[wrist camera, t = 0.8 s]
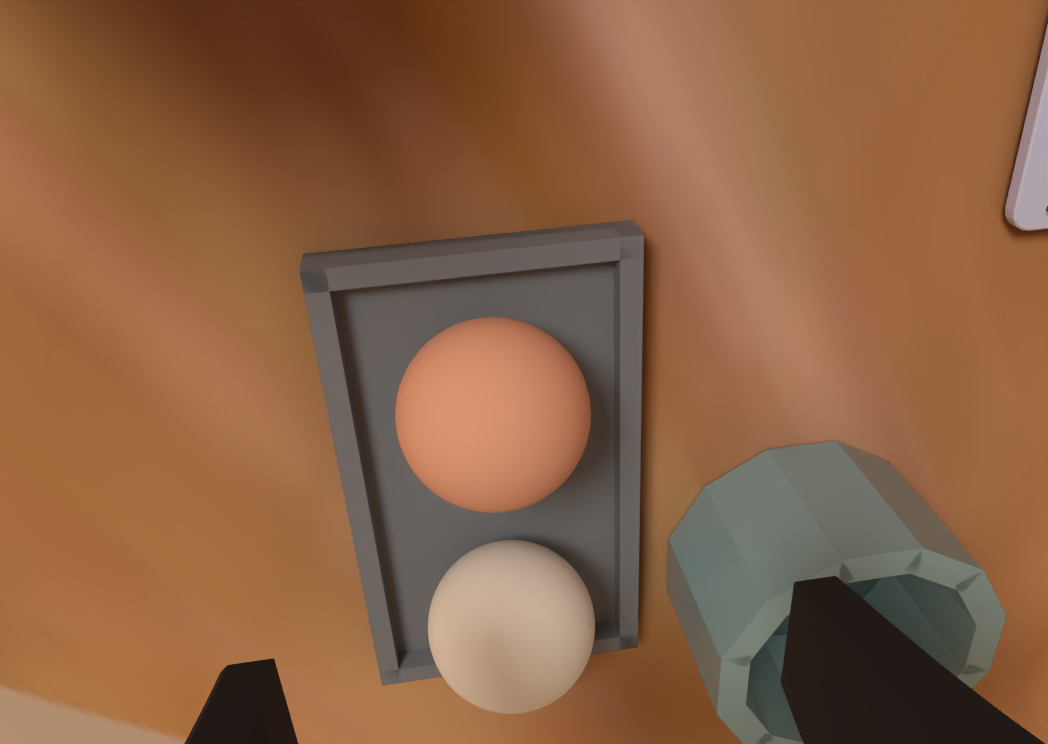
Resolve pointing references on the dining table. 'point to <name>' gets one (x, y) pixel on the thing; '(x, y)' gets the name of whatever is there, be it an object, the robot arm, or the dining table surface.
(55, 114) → the dining table surface
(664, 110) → the dining table surface
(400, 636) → the slate tray
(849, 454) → the teal tube
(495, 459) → the ball terracotta
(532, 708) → the ball cream
